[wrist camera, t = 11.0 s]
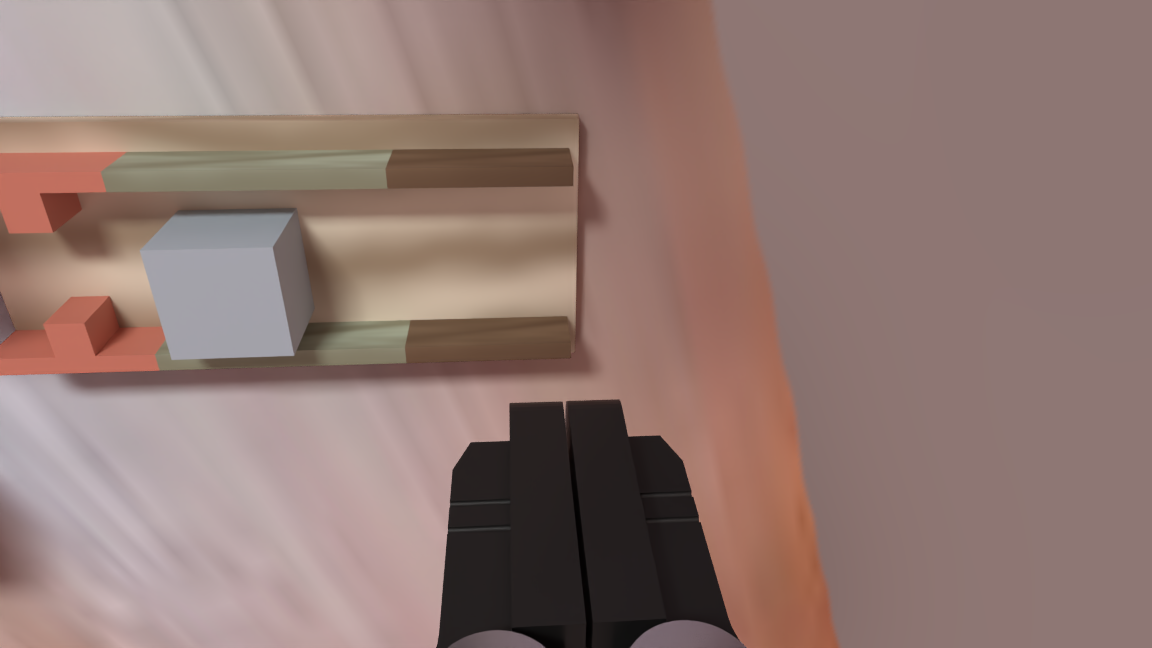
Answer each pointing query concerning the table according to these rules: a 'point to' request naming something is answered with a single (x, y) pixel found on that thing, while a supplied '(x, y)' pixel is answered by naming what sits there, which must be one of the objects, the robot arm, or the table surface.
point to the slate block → (230, 283)
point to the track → (331, 226)
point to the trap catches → (82, 324)
